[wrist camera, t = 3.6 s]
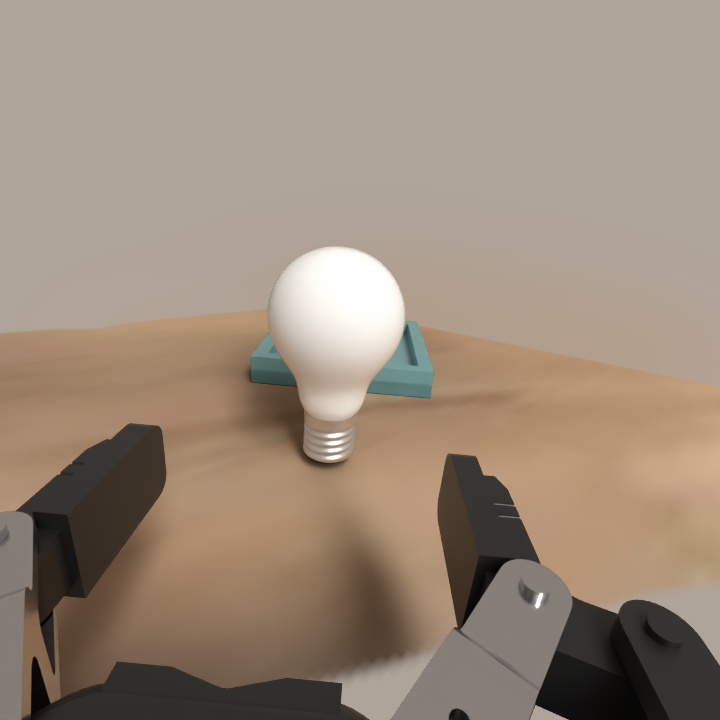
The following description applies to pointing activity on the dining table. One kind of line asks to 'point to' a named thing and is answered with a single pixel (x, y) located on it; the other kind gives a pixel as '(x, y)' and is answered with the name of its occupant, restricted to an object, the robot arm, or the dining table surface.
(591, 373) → the dining table surface
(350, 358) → the lightbulb
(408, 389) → the tray
